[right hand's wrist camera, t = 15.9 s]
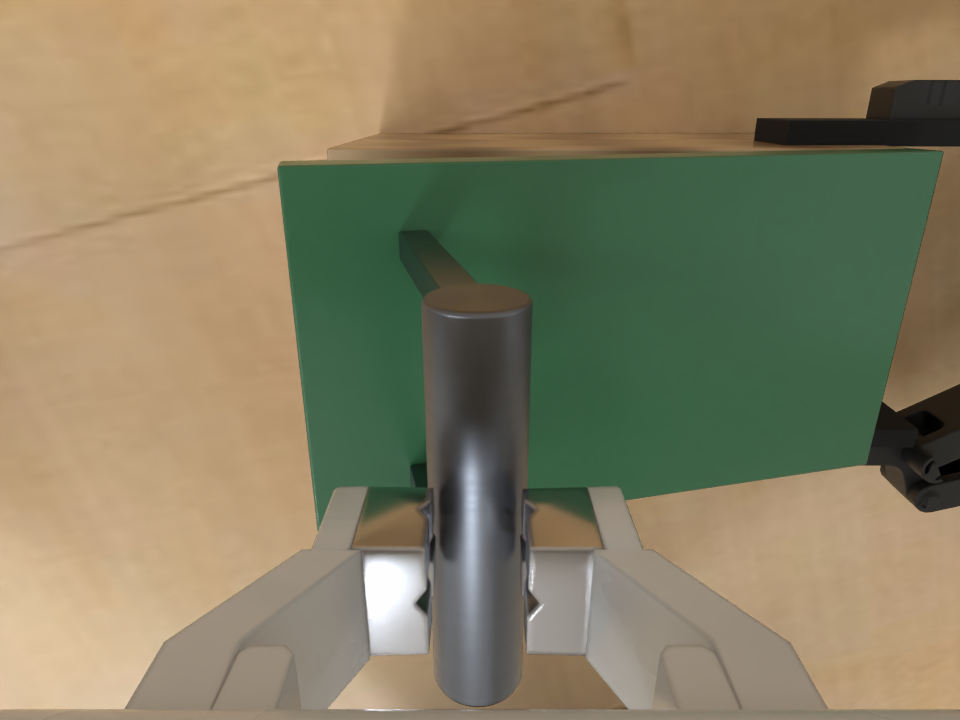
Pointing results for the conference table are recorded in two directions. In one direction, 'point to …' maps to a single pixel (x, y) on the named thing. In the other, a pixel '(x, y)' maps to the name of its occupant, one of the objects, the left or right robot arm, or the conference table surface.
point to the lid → (588, 338)
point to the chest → (558, 145)
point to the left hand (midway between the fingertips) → (746, 288)
